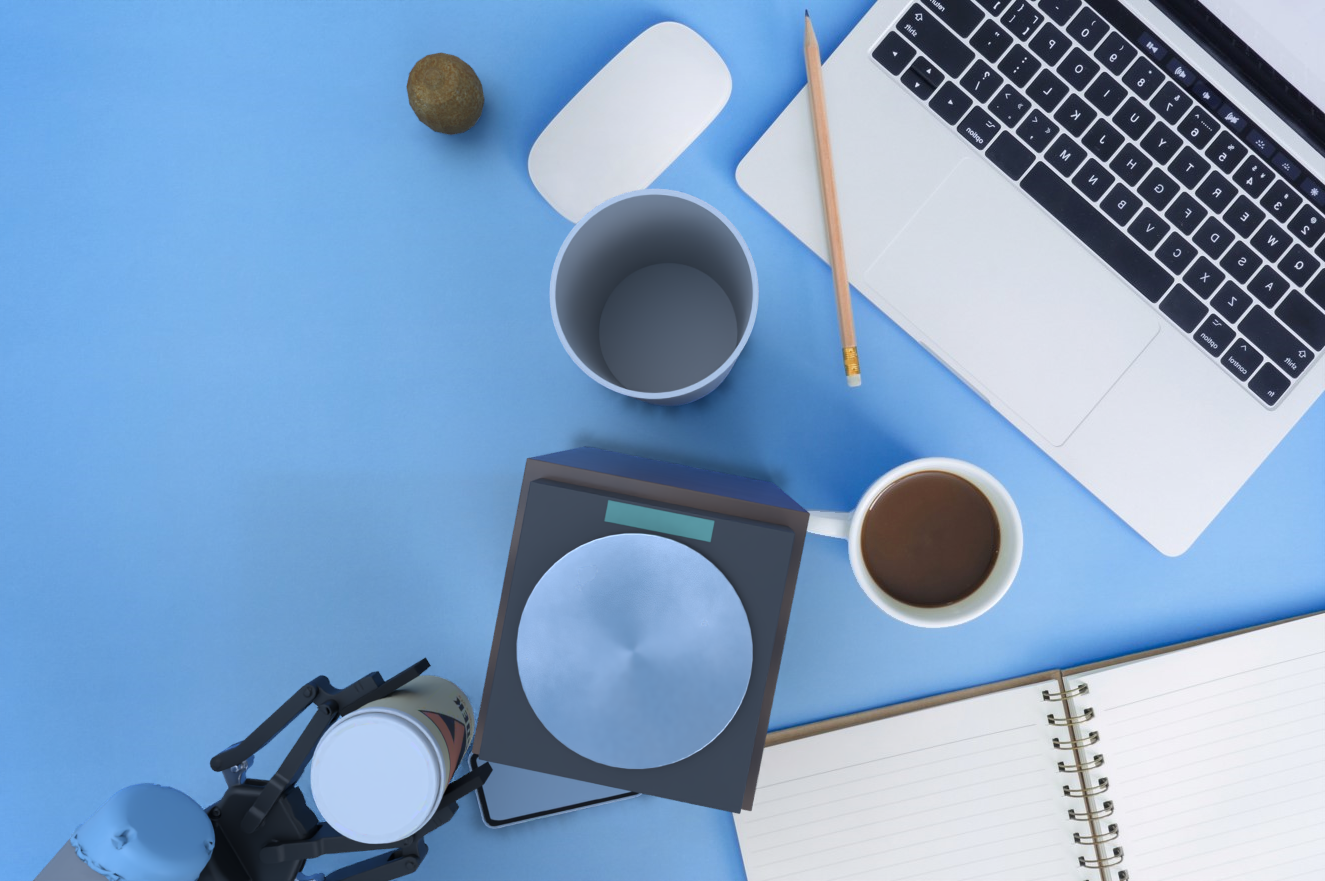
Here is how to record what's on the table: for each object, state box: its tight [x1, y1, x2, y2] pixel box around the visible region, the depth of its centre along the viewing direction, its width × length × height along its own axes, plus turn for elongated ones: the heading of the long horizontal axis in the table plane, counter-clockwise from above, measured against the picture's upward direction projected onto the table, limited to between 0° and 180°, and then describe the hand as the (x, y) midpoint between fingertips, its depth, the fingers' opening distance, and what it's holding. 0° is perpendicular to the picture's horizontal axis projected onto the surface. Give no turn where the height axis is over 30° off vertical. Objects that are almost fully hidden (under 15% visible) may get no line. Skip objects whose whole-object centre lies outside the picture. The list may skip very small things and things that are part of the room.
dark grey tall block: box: [471, 445, 811, 812], centre depth 65 cm, size 18×17×26 cm
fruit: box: [405, 52, 486, 136], centre depth 74 cm, size 6×6×8 cm
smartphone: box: [467, 751, 643, 830], centre depth 78 cm, size 7×1×15 cm
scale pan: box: [516, 532, 753, 769], centre depth 48 cm, size 13×13×1 cm
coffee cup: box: [310, 674, 476, 844], centre depth 66 cm, size 9×9×12 cm
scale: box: [479, 478, 795, 815], centre depth 50 cm, size 16×15×3 cm
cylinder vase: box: [549, 188, 760, 407], centre depth 65 cm, size 12×12×25 cm
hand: (454, 719), depth 65 cm, fingers closed on coffee cup, 8 cm apart
